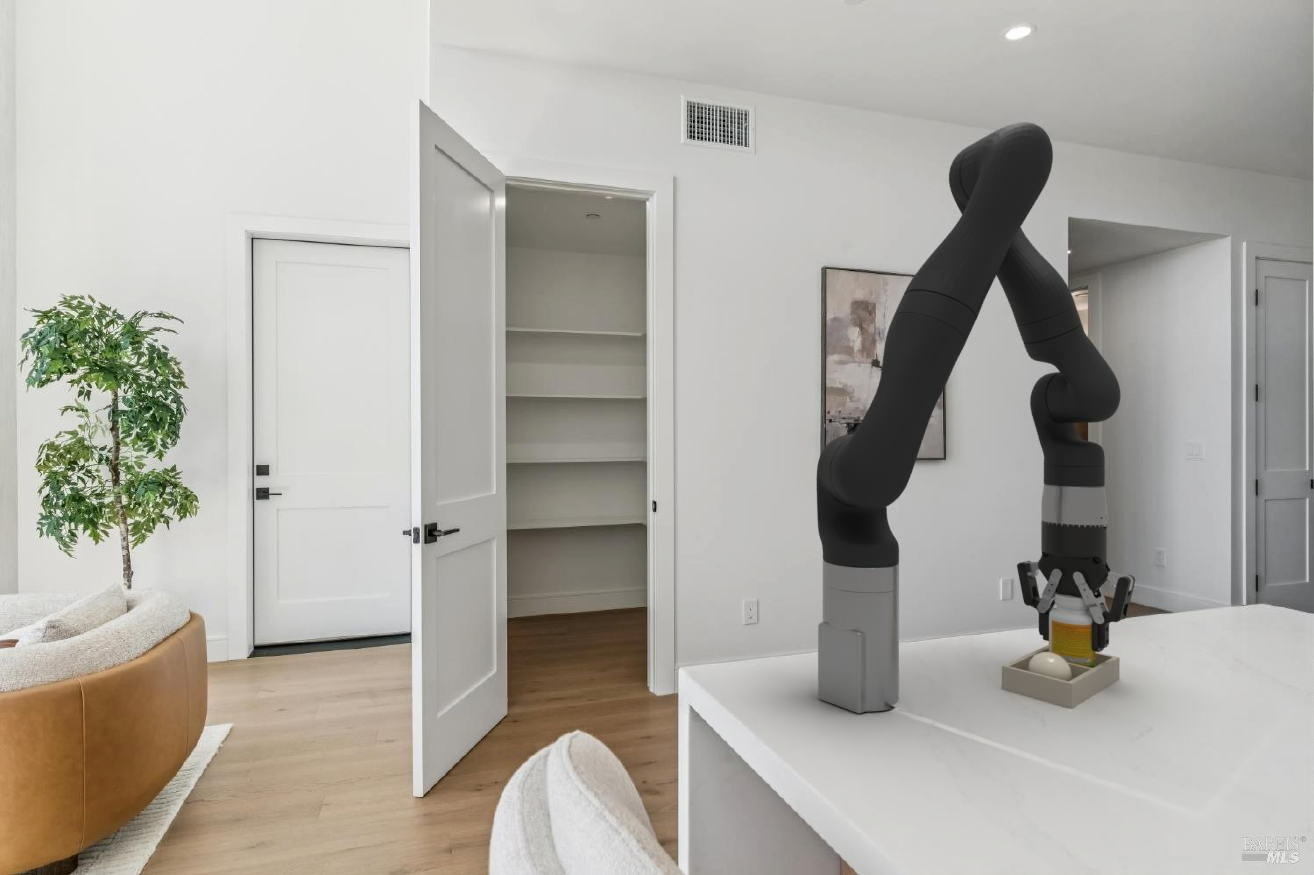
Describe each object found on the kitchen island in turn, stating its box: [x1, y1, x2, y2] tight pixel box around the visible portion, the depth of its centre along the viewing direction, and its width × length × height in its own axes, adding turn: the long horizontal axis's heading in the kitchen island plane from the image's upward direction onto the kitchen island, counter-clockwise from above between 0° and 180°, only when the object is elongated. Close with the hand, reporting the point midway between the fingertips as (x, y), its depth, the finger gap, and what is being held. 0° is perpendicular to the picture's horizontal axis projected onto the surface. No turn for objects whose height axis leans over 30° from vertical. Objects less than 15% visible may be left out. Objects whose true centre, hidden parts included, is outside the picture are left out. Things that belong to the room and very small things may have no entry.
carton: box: [1001, 644, 1121, 710], centre depth 90 cm, size 16×8×4 cm, turn 129°
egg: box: [1028, 652, 1072, 682], centre depth 87 cm, size 5×5×5 cm
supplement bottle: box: [1048, 592, 1096, 668], centre depth 92 cm, size 5×5×10 cm
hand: (1072, 644), depth 92 cm, fingers closed on supplement bottle, 5 cm apart
